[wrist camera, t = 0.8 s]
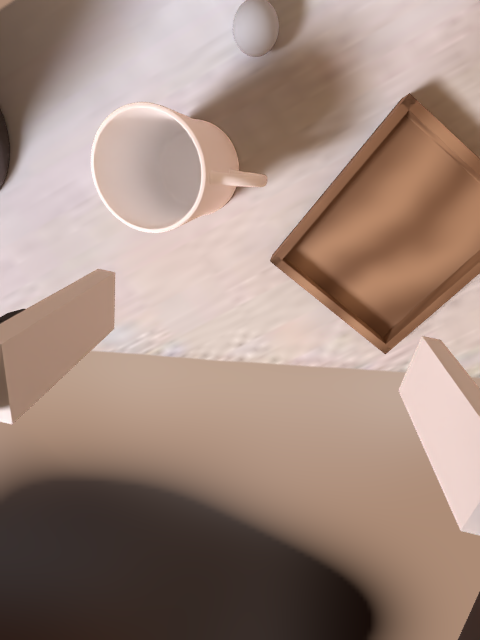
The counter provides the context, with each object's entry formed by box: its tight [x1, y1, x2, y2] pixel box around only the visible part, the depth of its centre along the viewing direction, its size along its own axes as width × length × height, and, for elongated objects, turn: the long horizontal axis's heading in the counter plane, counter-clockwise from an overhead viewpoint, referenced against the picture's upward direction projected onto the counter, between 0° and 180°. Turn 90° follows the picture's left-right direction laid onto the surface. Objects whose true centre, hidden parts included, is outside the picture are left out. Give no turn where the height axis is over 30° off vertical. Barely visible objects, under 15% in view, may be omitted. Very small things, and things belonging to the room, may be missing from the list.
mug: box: [91, 102, 267, 233], centre depth 29 cm, size 12×8×12 cm
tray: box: [270, 93, 480, 354], centre depth 33 cm, size 15×17×2 cm
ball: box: [233, 0, 279, 57], centre depth 28 cm, size 4×4×4 cm
